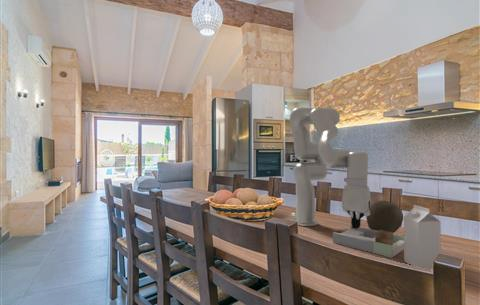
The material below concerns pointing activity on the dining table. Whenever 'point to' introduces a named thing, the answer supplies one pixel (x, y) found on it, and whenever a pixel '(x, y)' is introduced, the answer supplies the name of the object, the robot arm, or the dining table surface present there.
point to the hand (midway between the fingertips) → (355, 227)
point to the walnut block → (384, 237)
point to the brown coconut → (384, 216)
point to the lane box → (368, 241)
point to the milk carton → (421, 237)
